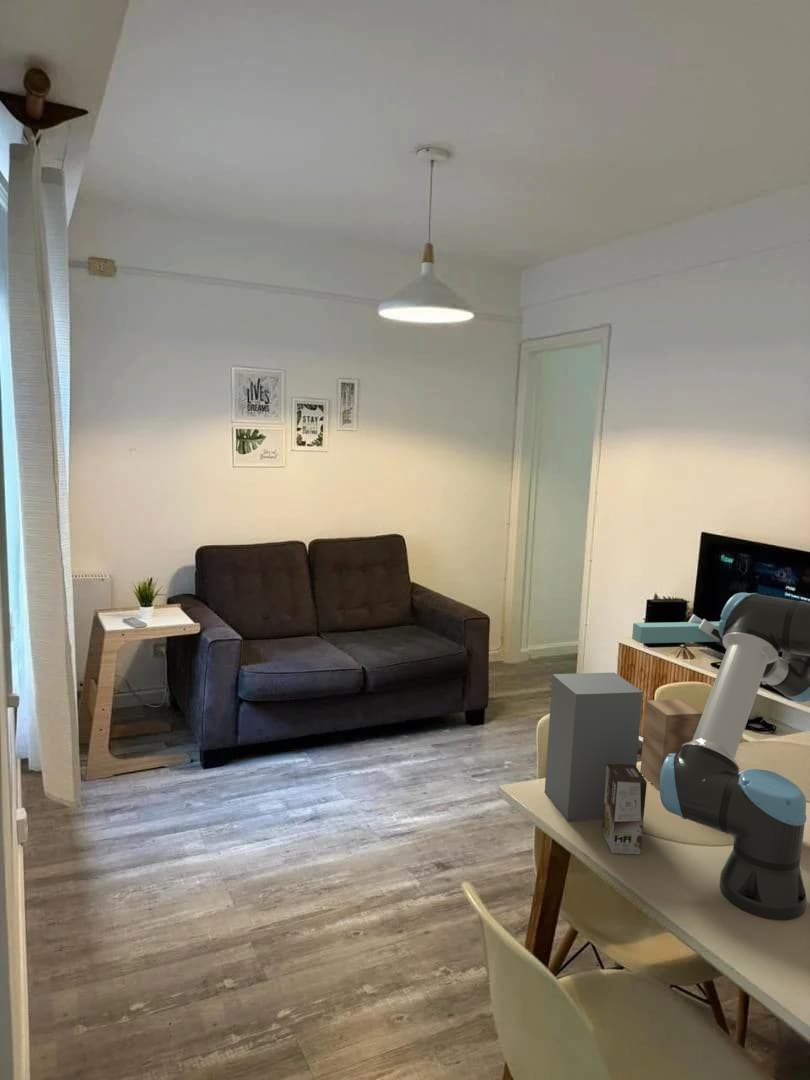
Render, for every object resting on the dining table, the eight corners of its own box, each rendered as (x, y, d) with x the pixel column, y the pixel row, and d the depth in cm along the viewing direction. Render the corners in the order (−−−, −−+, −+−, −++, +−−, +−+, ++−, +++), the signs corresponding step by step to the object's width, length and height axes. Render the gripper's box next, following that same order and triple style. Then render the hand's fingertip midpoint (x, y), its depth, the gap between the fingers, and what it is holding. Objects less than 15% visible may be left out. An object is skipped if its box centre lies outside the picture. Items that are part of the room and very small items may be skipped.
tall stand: (605, 788, 190) (614, 672, 186) (632, 816, 176) (642, 692, 172) (544, 792, 187) (552, 674, 182) (567, 821, 173) (576, 694, 169)
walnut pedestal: (675, 772, 201) (681, 699, 198) (696, 789, 191) (703, 713, 188) (640, 774, 199) (646, 700, 196) (659, 792, 189) (666, 714, 186)
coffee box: (641, 855, 160) (648, 782, 158) (611, 853, 160) (616, 781, 158) (630, 832, 169) (635, 763, 167) (600, 831, 169) (606, 762, 167)
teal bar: (719, 636, 194) (720, 621, 193) (728, 641, 190) (730, 625, 189) (632, 638, 189) (633, 623, 189) (640, 643, 185) (641, 627, 185)
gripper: (778, 688, 187) (707, 643, 181) (735, 666, 204) (670, 625, 198) (794, 662, 187) (724, 617, 181) (750, 642, 203) (685, 600, 198)
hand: (696, 621), depth 190 cm, fingers closed on teal bar, 4 cm apart
